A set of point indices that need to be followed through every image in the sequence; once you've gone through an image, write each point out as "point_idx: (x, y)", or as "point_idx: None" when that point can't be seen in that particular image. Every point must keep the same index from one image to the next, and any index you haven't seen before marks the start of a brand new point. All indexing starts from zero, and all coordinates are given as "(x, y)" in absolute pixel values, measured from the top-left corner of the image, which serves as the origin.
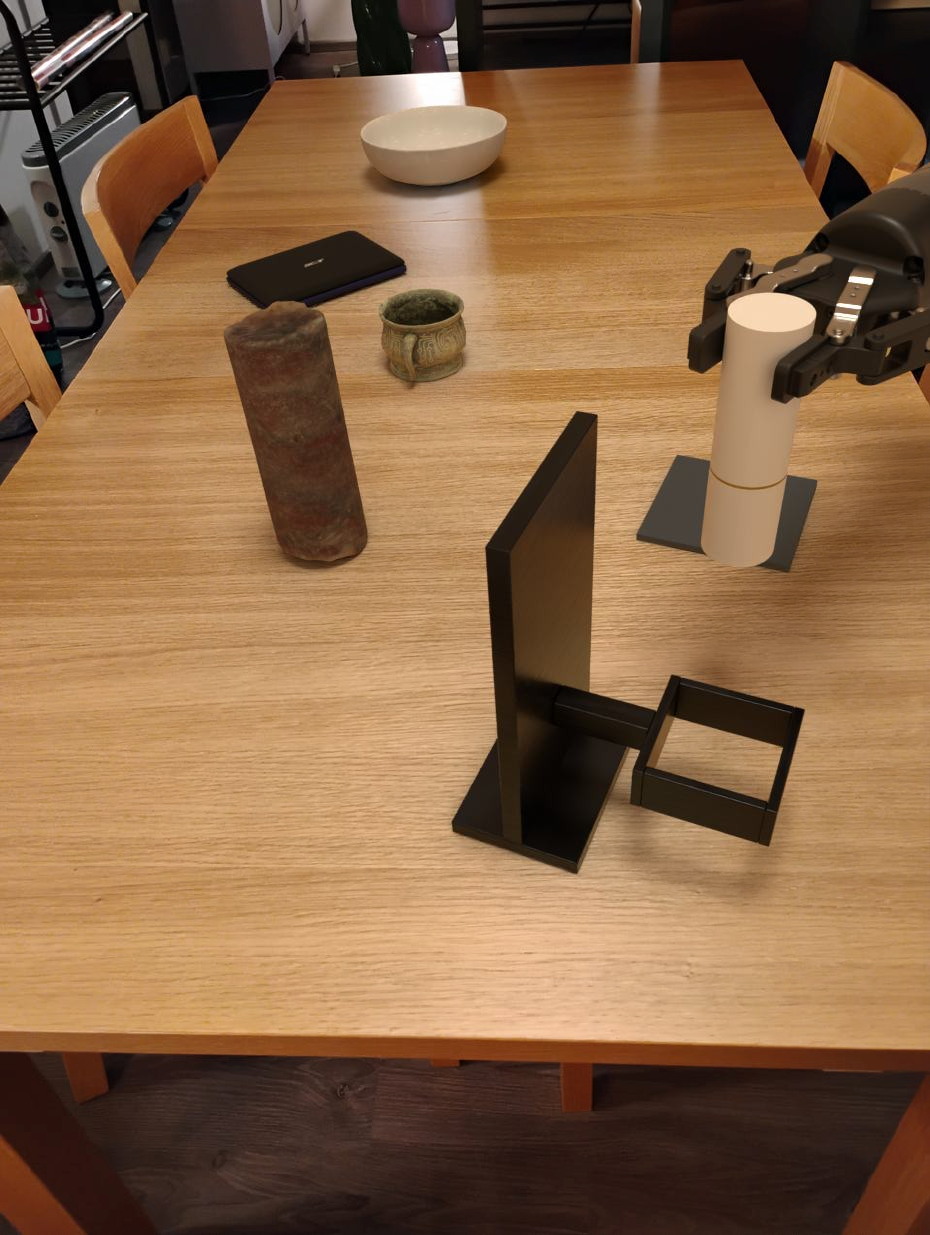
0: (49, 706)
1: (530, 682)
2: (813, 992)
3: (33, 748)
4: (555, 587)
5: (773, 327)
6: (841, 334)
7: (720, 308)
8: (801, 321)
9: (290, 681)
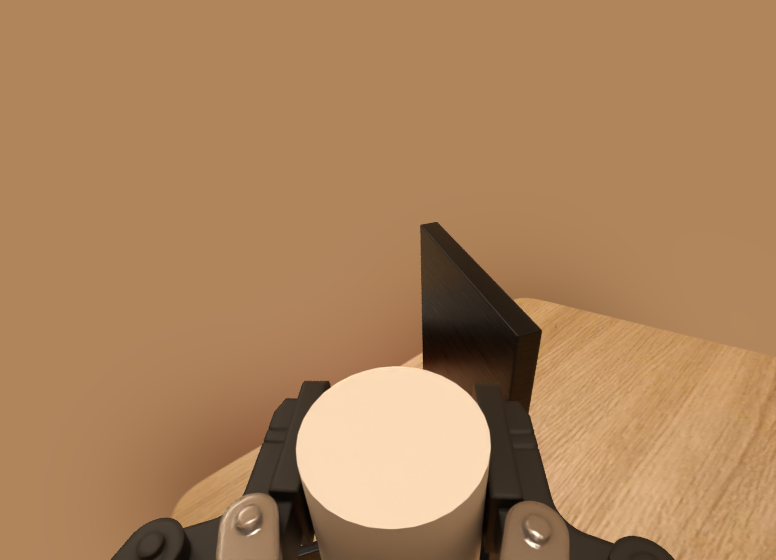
0: (724, 358)
1: (431, 361)
2: (233, 487)
3: (685, 342)
4: (452, 358)
5: (357, 385)
6: (239, 508)
7: (563, 520)
8: (318, 430)
9: (674, 457)
